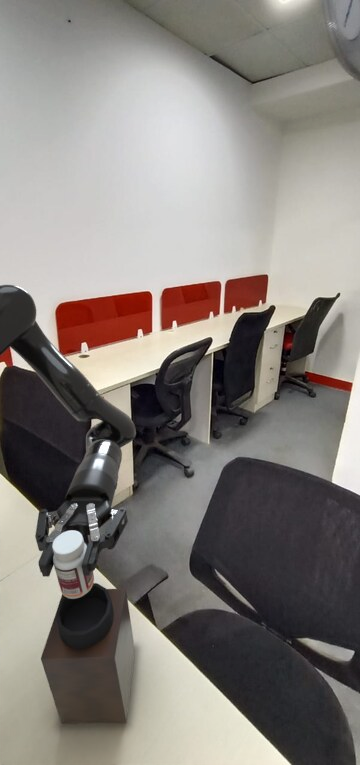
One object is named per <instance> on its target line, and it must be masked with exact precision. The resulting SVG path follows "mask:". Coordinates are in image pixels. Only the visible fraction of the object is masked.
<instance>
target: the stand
mask: <svg viewBox="0 0 360 765" xmlns="http://www.w3.org/2000/svg"><path fill="white" fill-rule="evenodd" d="M106 589H107V590H108V592H109V595H110V597H111V600H112V605H113V611H114V618H113V623H112V626H111V628H110V630H109V632H108V633H107V635H106V636H105V637H104V638H103V639H102V640H101V641H100V642H98V643H97V644H95V645H94V646H91V647H89V648H85V649H74V648H71V647H69V646H67V645H66V644H65V643H64V642H63V641H62V639H61V637H60V634H59V628H58V624H57V620H56V612H57V609H58V606H59V603H60V601H61V599H62V598H63V597H64V595H63V594H62V593H61V597H60V600H59V602H58V606H57V608H56V612H55V614H54V617H53V619H52V620H53V621H52V623H51V627H50V629H49V633H48V635H47V637H46V638H47V639H46V641H45V644H44V648H43V650H42V654H41V657H40V662H41V664H42V667H43V670H44V674H45V677H46V679H47V683H48V687H49V689H50V693H51V695H52V699H53V703H54V706H55V708H56V711H57V714H58V717H59V722H60V724H117V723H118V724H121V723H125V724H126V723H127V722H128V714H129V705H130V696H131V690H132V689H131V688H132V680H133V671H134V664H135V653H136V649H135V642H134V635H133V628H132V621H131V615H130V607H129V600H128V593H127V588H106Z"/></svg>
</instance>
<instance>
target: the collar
mask: <svg viewBox="0 0 360 765" xmlns="http://www.w3.org/2000/svg"><path fill="white" fill-rule="evenodd" d="M107 589H108V588H107V587H105V586H103V585H101V584H100V583H98V582H94V583H93V586H92V588H91V589H90V591H89V592H88V593H86V594H85V595H83V596H82V597H79V598H75V599H70V598H67V597H65V596H64V597H63V598H62V599H61V598H60V599H61V601H60V600H59V602H60V603H59V602H58V605H59V606H57V608H58V609H57V608H56V611H57V612H55V614H56V620H57V624H58V628H59V634H60V637H61V639H62V641H63V642H64V643H65V644H66V645H67V646H69V647H71V648H74V649H85V648H89V647H91V646H94V645H95V644H97V643H98V642H100V641H101V640H102V639H103V638H104V637H105V636H106V635H107V633H108V632H109V630H110V628H111V626H112V623H113V618H114V611H113V605H112V600H111V597H110V595H109V592H108V590H107Z"/></svg>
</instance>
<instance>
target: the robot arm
mask: <svg viewBox="0 0 360 765" xmlns="http://www.w3.org/2000/svg"><path fill="white" fill-rule="evenodd" d="M36 319H37V306H36V303H35V300H34V298H33V296H32V295H31V294H30V293H29V292H28V290H26V289H24V288H23V287H21V286H18V285H15V284H1V285H0V357H1V356H2V355H3V354H4V353H5V352H6V351H7V350H8V349H9V348H11V350H13V351H14V352H15V353H16V354H17V355H19V357H20V358H22V359H23V360H24V362H25V363H27V364H28V366H29V367H30V368H31V369H32V370H33V371H34V372H35V373H36V375H37V376H38V377H39V378H40V379H41V381H42V382H43V383H44V384H45V385H46V386H47V388H48V389H49V390H50V392H51V393H52V394H53V395H54V396H55V398H56V399H57V400H58V401H59V402H60V403H61V404H62V406H63V407H64V408H65V409H66V410H67V412H68V413H69V414H70V415H71V416H72V417H73V418H74V419H75V420H76V421H78V422H80V423H84V422H88V421H92V420H99V421H100V422H98V423H96V424H94V425H93V426H91V427H90V428H89V430H88V431H87V433H86V435H85V453H84V456H83V458H82V461H81V463H80V464H79V465H78V467H77V468H76V471H75V473H74V476H73V478H72V480H71V482H70V485H69V487H68V489H67V492H66V494H65V497H64V501H63V503H62V504H61V505H60V506H59V507H58V508H57V510H53V511H49V512H48V510H47V508H42V509H40V510H39V511H38V516H37V523H36V527H35V535H34V537H35V538H34V539H35V542H36V545H37V548H38V551H39V552H41V555H40V556H39V559H38V567H39V572H40V573H41V575H42V577H45V578H47V577H50V575H51V573H52V570H53V567H54V564H53V555H54V552H53V548H52V545H53V542H54V540H55V539H56V537H57V536H59V535H60V534H61V533H63V532H66V531H70V530H75V531H78V532H80V533H81V534H82V536H90V541H88V542H87V544H86V545H87V548H86V552H85V555H84V559H83V562H82V571H83V575H84V576H89V575H90V572H91V571H93V572H94V571H95V570H96V568H97V564H98V560H99V558H100V557H99V556H100V554H101V552H102V551H103V550H105V549H107V550H113V549H114V548H115V547H116V545H117V544H118V541H119V539H120V537H121V536H122V534H123V532H124V530H125V528H126V526H127V524H128V522H129V521H128V513H127V512H128V511H127V507H125V506H121V507H119V508H118V509H113V508H112V506H113V501H114V498H115V494H116V490H117V487H118V481H119V472H120V469H121V468H120V467H121V463H122V460H123V451H122V448H123V447H124V446H126V445H128V444H130V443H131V442H133V441H134V439H135V438H136V435H137V428H136V427H137V426H136V425H135V423H134V421H133V419H132V418H131V417H130V416H129V415H128V414H127V413H126V412H124V411H123V410H121V409H120V408H119V407H117V406H115V405H114V404H112V403H111V402H110V401H109V400H107V399H105V397H103V396H102V395H101V393H100V392H99V391H97V389H96V387H95V386H94V385H93V384H92V383H91V381H89V379H88V378H87V377H86V375H84V374H83V372H82V371H80V370H79V368H77V367H76V366H75V365H74V364H73V363H72V362H71V361H70V360H69V359H68V358H67V357H66V356H65V355H64V354H63V353H61V352H60V351H59V349H57V347H55V345H54V344H53V343H52V342H51V340H50V339H49V338H48V337H47V336H46V334H45V333H44V332H43V330H42V329H41V327H40V325H39V324H38V321H37V320H36ZM57 520H58V521H57ZM110 520H111V522H110V523H109V525H108V526H107V528H106V530H105V532H104V534H100V528H101V527H102V526H104V525H105V524H106V523H107V522H109V521H110ZM56 521H57V522H56ZM55 522H56V523H55ZM53 525H54V529H53V530H52V531H51V532H50V529H51V528H53Z"/></svg>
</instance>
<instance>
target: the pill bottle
mask: <svg viewBox="0 0 360 765" xmlns="http://www.w3.org/2000/svg"><path fill="white" fill-rule="evenodd" d="M87 545H88V544H87V543H86V542H85V540H84V535H82V534H81V533H80V532H78V531H75V530H70V531H66V532H63V533H61V534H60V535H59V536H57V537H56V539H55V540H54V542H53V545H52V548H53V552H54V555H53V564H54V565H53V567H54V570H55V575H56V578H57V581H58V585H59V589H60V593H61V595H62V594H63V595H64V596H65V597H67V598H70V599H75V598H79V597H82V596H83V595H85V594H86V593H88V592H89V591H90V589H91V588H92V586H93V583H95V576H94V571H91V572H90V575H89V576H84V575H83V571H82V562H83V559H84V555H85V552H86V548H87Z"/></svg>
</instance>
